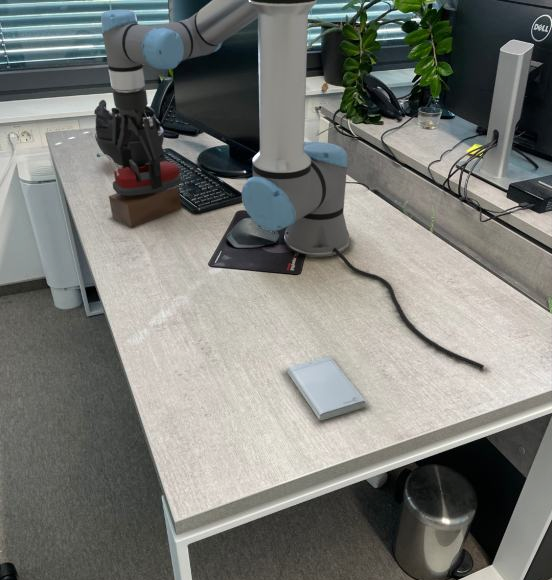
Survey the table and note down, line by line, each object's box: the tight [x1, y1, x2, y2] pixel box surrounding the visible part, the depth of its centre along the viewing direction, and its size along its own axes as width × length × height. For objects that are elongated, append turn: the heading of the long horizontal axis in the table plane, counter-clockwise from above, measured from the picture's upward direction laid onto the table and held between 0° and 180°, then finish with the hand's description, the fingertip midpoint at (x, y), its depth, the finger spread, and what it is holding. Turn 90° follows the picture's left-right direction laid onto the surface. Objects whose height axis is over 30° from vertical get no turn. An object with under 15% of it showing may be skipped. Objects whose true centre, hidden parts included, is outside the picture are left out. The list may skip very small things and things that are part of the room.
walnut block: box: [108, 184, 182, 228], centre depth 149 cm, size 8×16×6 cm, turn 137°
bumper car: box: [96, 153, 183, 196], centre depth 143 cm, size 10×20×10 cm, turn 120°
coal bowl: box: [94, 99, 165, 168], centre depth 171 cm, size 20×20×19 cm
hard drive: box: [287, 356, 366, 421], centre depth 96 cm, size 2×8×12 cm
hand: (142, 181), depth 145 cm, fingers closed on bumper car, 11 cm apart
